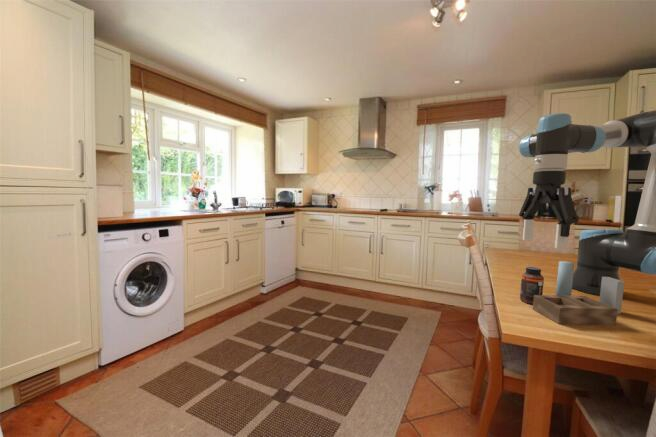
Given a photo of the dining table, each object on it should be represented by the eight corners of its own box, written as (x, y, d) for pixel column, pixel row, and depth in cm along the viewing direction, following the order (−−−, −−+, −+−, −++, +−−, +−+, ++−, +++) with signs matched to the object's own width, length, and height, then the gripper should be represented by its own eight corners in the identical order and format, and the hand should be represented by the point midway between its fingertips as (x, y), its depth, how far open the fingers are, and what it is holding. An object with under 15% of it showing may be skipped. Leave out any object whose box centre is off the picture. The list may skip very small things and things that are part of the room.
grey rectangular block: (604, 307, 94) (608, 276, 93) (620, 314, 89) (624, 281, 88) (598, 307, 94) (602, 276, 93) (614, 314, 89) (617, 281, 88)
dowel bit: (563, 298, 101) (567, 261, 100) (573, 303, 97) (577, 264, 96) (552, 298, 101) (555, 260, 100) (561, 302, 97) (565, 263, 96)
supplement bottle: (545, 306, 94) (548, 271, 93) (524, 304, 95) (527, 269, 94) (536, 299, 100) (539, 266, 99) (516, 297, 101) (519, 265, 100)
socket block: (583, 310, 91) (585, 296, 91) (615, 324, 82) (617, 308, 81) (532, 309, 91) (533, 295, 91) (558, 323, 81) (560, 307, 81)
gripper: (510, 173, 98) (505, 237, 100) (571, 166, 73) (563, 252, 75) (533, 173, 98) (527, 237, 100) (602, 167, 73) (592, 253, 75)
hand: (542, 244), depth 87 cm, fingers open, 13 cm apart
